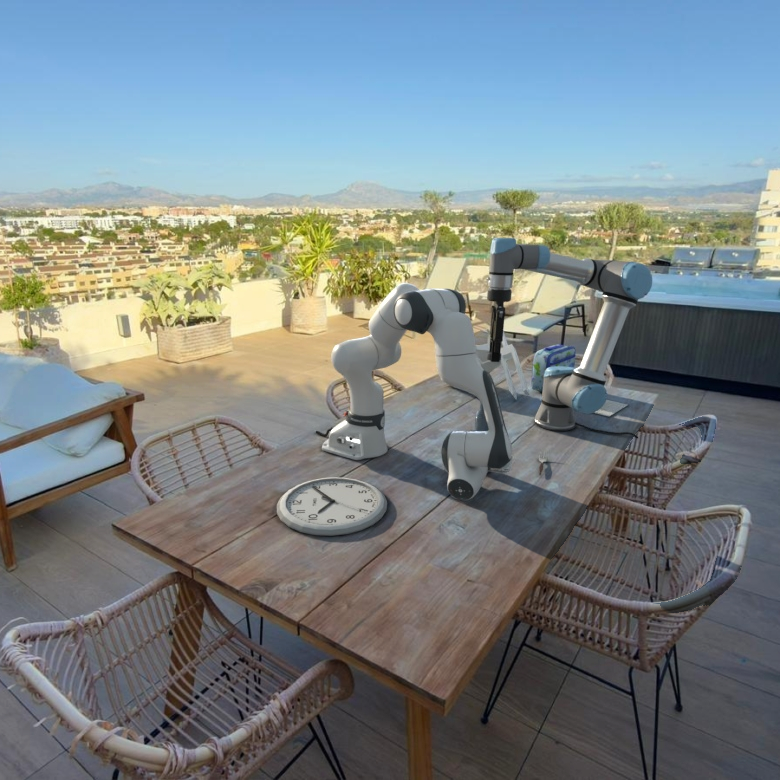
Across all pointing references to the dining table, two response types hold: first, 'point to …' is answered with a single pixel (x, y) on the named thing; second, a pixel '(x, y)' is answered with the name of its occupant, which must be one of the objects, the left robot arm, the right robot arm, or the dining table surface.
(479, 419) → the bottle
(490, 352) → the cap
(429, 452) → the dining table surface
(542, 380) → the lunch box
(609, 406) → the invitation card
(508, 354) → the white plastic object
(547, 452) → the fork
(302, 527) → the wall clock
